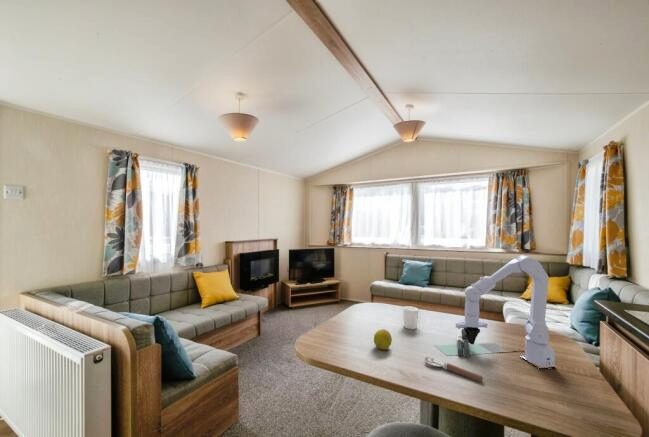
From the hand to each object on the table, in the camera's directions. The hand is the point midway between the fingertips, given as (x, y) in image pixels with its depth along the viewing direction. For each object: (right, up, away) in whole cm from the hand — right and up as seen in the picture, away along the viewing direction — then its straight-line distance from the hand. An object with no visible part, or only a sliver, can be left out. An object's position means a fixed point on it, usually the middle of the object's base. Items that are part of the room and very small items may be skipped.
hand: (471, 343), depth 123 cm
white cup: (-20, -2, +24) cm, 32 cm away
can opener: (-3, -3, +1) cm, 4 cm away
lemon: (-40, -2, -1) cm, 40 cm away
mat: (+4, -3, +1) cm, 5 cm away
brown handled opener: (-17, -3, -18) cm, 25 cm away
